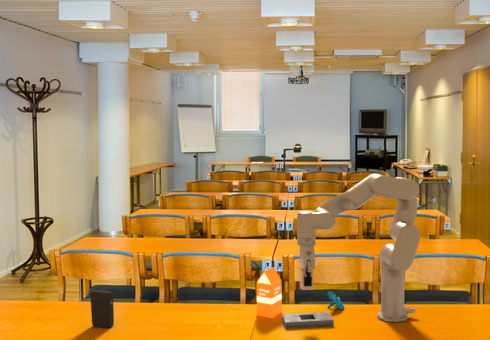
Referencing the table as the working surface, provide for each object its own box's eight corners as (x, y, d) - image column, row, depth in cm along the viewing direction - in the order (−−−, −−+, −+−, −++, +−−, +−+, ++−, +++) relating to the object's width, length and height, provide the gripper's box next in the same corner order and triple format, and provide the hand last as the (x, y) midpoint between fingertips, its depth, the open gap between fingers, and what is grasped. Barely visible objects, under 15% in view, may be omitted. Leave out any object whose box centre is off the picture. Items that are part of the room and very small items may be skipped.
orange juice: (282, 312, 266) (281, 267, 264) (272, 318, 258) (271, 272, 256) (266, 309, 270) (266, 265, 268) (256, 315, 263) (255, 270, 261)
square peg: (310, 286, 253) (310, 267, 252) (313, 289, 248) (313, 270, 247) (300, 286, 252) (300, 268, 251) (302, 289, 248) (302, 270, 247)
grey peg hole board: (328, 317, 257) (327, 311, 257) (333, 325, 248) (333, 319, 247) (281, 320, 256) (281, 314, 255) (285, 328, 246) (285, 322, 245)
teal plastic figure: (341, 309, 262) (326, 291, 265) (332, 318, 264) (317, 300, 267) (348, 305, 272) (333, 288, 275) (339, 314, 274) (324, 296, 277)
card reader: (115, 325, 253) (114, 290, 251) (110, 328, 249) (108, 293, 248) (96, 323, 256) (95, 289, 254) (91, 326, 252) (89, 291, 251)
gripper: (319, 245, 240) (320, 289, 242) (311, 236, 257) (311, 278, 259) (301, 245, 240) (301, 290, 241) (293, 237, 256) (294, 279, 258)
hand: (306, 283), depth 250 cm, fingers closed on square peg, 4 cm apart
